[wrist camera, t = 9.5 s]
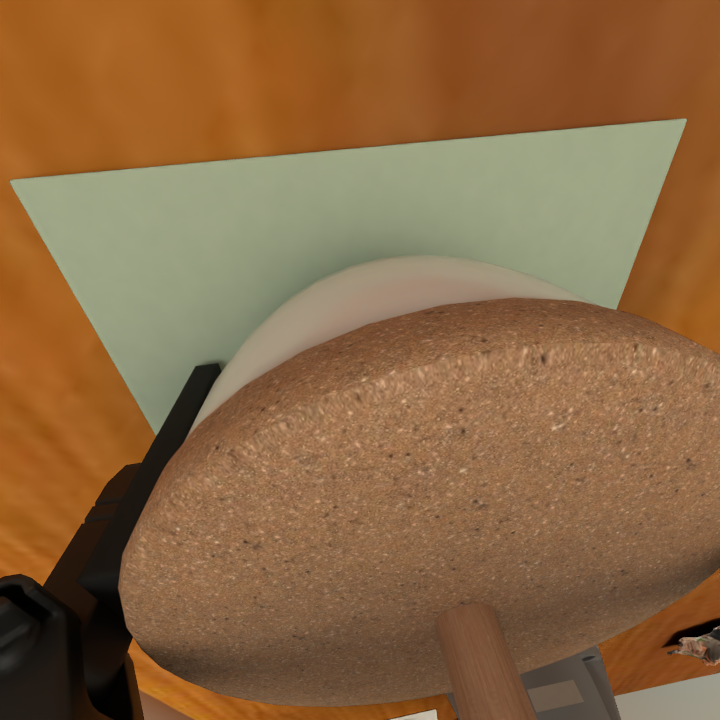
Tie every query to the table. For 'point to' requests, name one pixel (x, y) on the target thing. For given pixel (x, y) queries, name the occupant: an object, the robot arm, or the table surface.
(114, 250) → the mat
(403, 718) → the napkin holder
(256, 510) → the trinket box
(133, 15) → the table surface
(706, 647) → the plant with pod
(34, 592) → the robot arm
